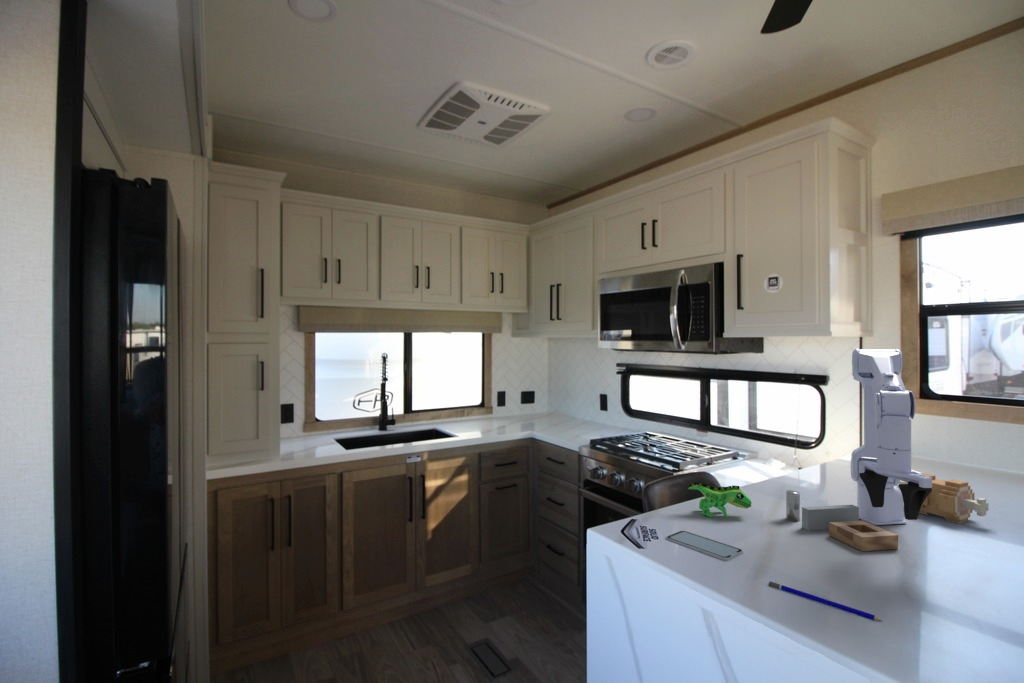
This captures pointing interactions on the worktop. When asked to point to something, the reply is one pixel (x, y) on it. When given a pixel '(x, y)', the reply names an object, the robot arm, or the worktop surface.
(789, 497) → the dowel
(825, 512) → the wall
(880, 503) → the robot arm
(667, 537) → the smartphone
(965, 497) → the voxel meat on bone
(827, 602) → the pencil
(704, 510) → the toy
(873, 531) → the block
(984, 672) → the worktop surface
